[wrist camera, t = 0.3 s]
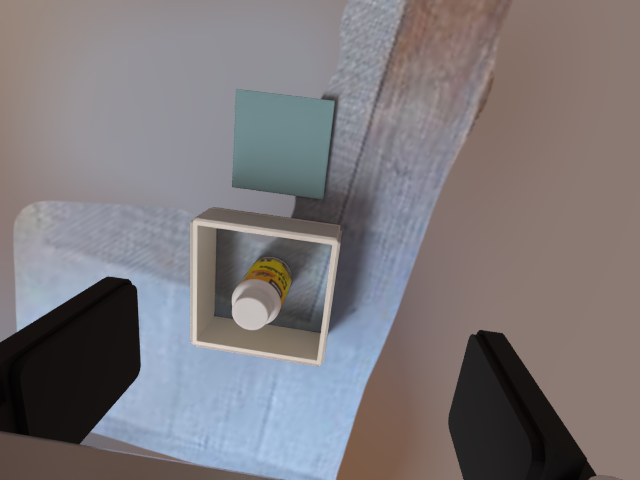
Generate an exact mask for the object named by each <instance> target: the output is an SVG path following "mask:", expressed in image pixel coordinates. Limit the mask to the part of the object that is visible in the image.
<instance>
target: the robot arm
mask: <svg viewBox="0 0 640 480" xmlns="http://www.w3.org/2000/svg"><path fill="white" fill-rule="evenodd" d="M140 367H141V362H140V341H139V320H138V299H137V288H136V286H134V285H132V283H131V281H130V280H129V279H122V278H115V277H106V278H104V279H102V280H101V281H99V282H97V283H96V284H94V285H92V286H91V287H89V288H88V289H86V290H84V291H83V292H81V293H80V294H78V295H76V296H75V297H73V298H71V299H70V300H68V301H67V302H65V303H63V304H62V305H60V306H59V307H57V308H55V309H54V310H52V311H50V312H49V313H47V314H46V315H44V316H42V317H41V318H39V319H38V320H36V321H34V322H33V323H31V324H29V325H28V326H26V327H25V328H23V329H21V330H20V331H18V332H16V333H15V334H13V335H12V336H10V337H8V338H7V339H5V340H4V341H2V342H0V480H284V479H278V478H272V477H267V476H261V475H255V474H249V473H244V472H238V471H232V470H227V469H221V468H215V467H209V466H204V465H198V464H192V463H186V462H180V461H175V460H169V459H163V458H157V457H151V456H145V455H139V454H133V453H127V452H121V451H115V450H109V449H103V448H98V447H97V448H96V447H91V446H86V445H80V443H81V442H82V441H83V439H84V438H85V437H86V436H87V435H88V434H89V433H90V431H91V430H92V429H93V428H94V427H95V426H96V424H97V423H98V422H99V421H100V420H101V419H102V418H103V416H104V415H105V414H106V413H107V412H108V411H109V409H110V408H111V407H112V406H113V405H114V404H115V403H116V401H117V400H118V399H119V398H120V397H121V396H122V394H123V393H124V392H125V391H126V390H127V389H128V388H129V386H130V385H131V384H132V383H133V382H134V381H135V379H136V378H137V376H138V374H139V372H140ZM448 421H449V422H448V424H449V430H450V434H451V437H452V441H453V444H454V448H455V451H456V455H457V458H458V462H459V465H460V469H461V472H462V476H463V479H464V480H622V479H618V478H615V477H612V476H604V475H598V476H597V475H596V474H595V472H594V471H593V469H592V468H591V466H590V465H589V463H588V462H587V458H586V457H585V455H584V454H583V452H582V451H581V449H580V448H579V446H578V445H577V443H576V442H575V440H574V439H573V437H572V436H571V434H570V433H569V431H568V430H567V428H566V427H565V425H564V424H563V422H562V421H561V419H560V418H559V416H558V415H557V413H556V412H555V410H554V409H553V407H552V406H551V404H550V403H549V401H548V400H547V398H546V397H545V395H544V394H543V392H542V391H541V389H540V388H539V386H538V385H537V383H536V382H535V380H534V379H533V377H532V376H531V374H530V373H529V371H528V370H527V368H526V367H525V365H524V364H523V362H522V361H521V359H520V358H519V356H518V355H517V354H516V352H515V351H514V349H513V347H512V346H511V344H510V343H509V342H508V340H507V338H506V337H505V335H504V334H503V333H497V332H490V331H483V330H479V331H478V332H477V334H476V335H473V334H472V335H471V336H470V337H469V340H468V344H467V348H466V352H465V355H464V359H463V363H462V367H461V371H460V375H459V379H458V382H457V386H456V390H455V394H454V398H453V401H452V405H451V409H450V413H449V420H448Z"/></svg>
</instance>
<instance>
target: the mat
mask: <svg viewBox="0 0 640 480" xmlns="http://www.w3.org/2000/svg"><path fill="white" fill-rule="evenodd" d="M235 104H236V105H235V128H234V155H233V180H232V187H236V188H244V189H251V190H258V191H266V192H273V193H279V194H287V195H294V196H301V197H309V198H316V199H323V198H324V189H325V181H326V173H327V164H328V156H329V148H330V140H331V131H332V123H333V115H334V107H335V101H331V100H323V99H314V98H306V97H298V96H289V95H281V94H273V93H265V92H257V91H248V90H240V89H236V102H235Z"/></svg>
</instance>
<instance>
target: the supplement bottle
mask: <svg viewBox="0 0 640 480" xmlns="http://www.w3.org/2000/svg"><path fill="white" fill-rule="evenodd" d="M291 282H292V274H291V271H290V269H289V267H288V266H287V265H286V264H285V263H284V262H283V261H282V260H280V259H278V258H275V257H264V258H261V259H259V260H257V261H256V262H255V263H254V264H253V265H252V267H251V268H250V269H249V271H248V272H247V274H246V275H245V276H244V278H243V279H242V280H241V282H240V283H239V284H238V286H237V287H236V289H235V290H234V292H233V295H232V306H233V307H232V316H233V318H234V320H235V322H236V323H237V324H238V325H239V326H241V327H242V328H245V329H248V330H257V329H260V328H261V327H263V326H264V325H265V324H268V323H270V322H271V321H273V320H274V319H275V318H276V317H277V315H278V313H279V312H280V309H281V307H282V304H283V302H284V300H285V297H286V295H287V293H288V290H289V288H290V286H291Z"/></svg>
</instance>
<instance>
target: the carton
mask: <svg viewBox="0 0 640 480" xmlns="http://www.w3.org/2000/svg"><path fill="white" fill-rule="evenodd" d="M340 227H341V225H337V224H329V223H322V222H315V221H308V220H301V219H294V218H287V217H280V216H273V215H266V214H259V213H252V212H244V211H237V210H230V209H223V208H215V207H213V208H210V209H208V210H206V211H205V212H203V213H202V214H200V215H199V216H197V217H195V219H194V220H192V221H191V222H190V342H193V344H194V346H197V347H203V348H209V349H215V350H221V351H227V352H233V353H239V354H245V355H251V356H258V357H264V358H270V359H276V360H282V361H288V362H294V363H300V364H306V365H312V366H318V367H319V365H321V364H323V362H324V356H325V349H326V343H327V336H328V329H329V322H330V315H331V308H332V301H333V294H334V286H335V279H336V272H337V265H338V258H339V251H340V244H341V237H342V231H340ZM217 228H220V229H227V230H234V231H241V232H248V233H255V234H262V235H269V236H276V237H282V238H289V239H296V240H303V241H310V242H317V243H324V244H331V245H333V246H332V253H331V261H330V268H329V275H328V283H327V290H326V298H325V305H324V313H323V320H322V327H321V333H317V332H311V331H305V330H299V329H292V328H286V327H280V326H273V325H267V324H265V325H264V326H263V327H261V328H260V329H257V330H248V329H245V328H242V327H241V326H239V325H238V324H237V323H236V322H235V320H234V319H229V318H223V317H217V316H214V312H215V273H216V234H217Z"/></svg>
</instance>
